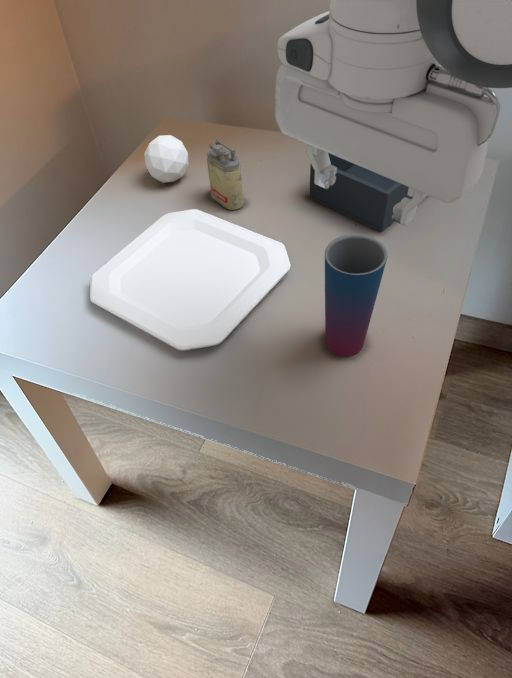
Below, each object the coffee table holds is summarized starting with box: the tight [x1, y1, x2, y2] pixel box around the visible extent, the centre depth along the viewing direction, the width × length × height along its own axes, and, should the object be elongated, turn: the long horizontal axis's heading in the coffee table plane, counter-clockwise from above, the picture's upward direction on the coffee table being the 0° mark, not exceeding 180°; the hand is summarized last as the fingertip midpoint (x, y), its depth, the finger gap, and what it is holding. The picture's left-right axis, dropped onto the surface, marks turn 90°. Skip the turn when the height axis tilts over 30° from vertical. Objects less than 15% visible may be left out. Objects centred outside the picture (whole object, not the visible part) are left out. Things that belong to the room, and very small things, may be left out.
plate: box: [89, 208, 292, 352], centre depth 80 cm, size 25×25×2 cm
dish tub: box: [308, 153, 413, 233], centre depth 87 cm, size 15×15×7 cm
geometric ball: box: [143, 134, 190, 184], centre depth 95 cm, size 8×8×8 cm
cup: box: [324, 233, 388, 357], centre depth 65 cm, size 7×7×15 cm
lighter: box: [206, 138, 245, 211], centre depth 89 cm, size 7×4×10 cm, turn 37°
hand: (362, 201), depth 54 cm, fingers open, 8 cm apart
